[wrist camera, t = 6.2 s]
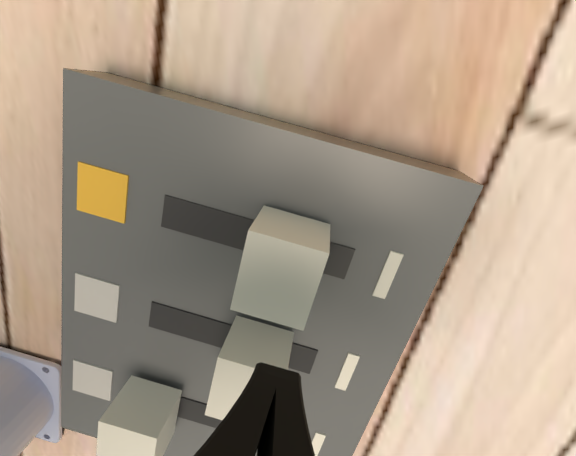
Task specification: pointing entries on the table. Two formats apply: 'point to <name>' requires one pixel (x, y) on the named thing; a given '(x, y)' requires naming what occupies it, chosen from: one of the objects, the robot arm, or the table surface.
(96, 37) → the table surface
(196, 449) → the switch panel
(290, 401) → the robot arm
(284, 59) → the table surface
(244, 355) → the middle switch
